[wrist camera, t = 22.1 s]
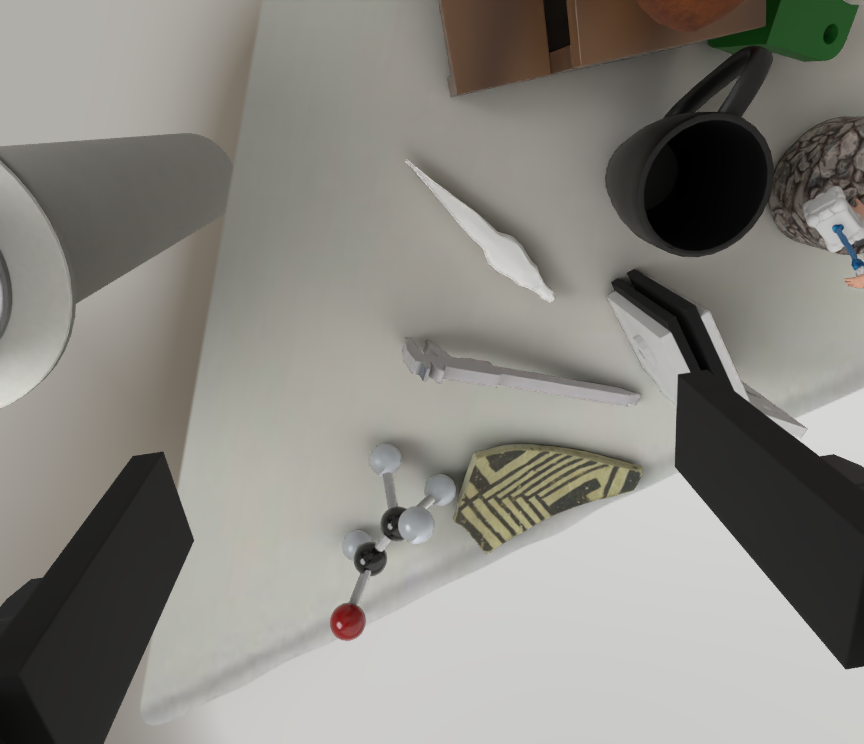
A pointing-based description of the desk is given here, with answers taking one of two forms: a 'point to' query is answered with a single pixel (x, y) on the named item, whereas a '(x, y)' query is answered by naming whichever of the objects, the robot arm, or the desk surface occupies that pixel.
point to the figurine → (824, 190)
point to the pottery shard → (533, 488)
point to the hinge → (681, 341)
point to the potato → (687, 12)
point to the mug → (697, 166)
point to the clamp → (797, 29)
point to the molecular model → (386, 535)
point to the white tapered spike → (492, 241)
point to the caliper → (504, 376)
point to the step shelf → (589, 36)
